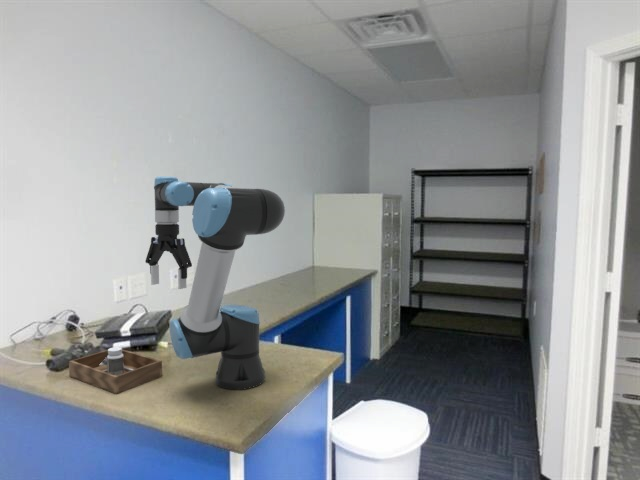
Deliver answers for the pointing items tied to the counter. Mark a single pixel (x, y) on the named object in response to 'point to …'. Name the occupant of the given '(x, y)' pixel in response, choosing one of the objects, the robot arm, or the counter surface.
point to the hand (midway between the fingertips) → (168, 286)
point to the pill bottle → (115, 361)
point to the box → (134, 374)
